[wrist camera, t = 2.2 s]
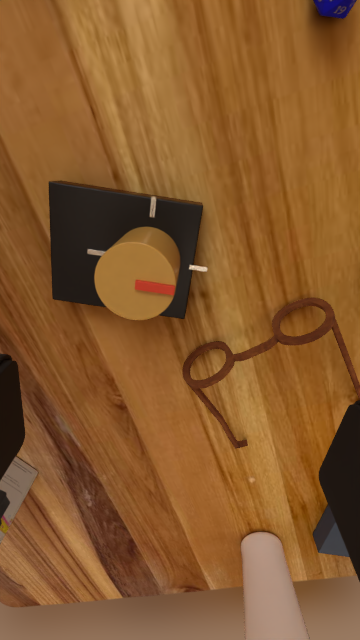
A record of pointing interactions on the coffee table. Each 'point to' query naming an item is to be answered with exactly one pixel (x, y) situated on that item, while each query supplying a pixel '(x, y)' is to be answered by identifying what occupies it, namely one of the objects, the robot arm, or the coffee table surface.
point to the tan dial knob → (139, 274)
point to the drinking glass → (269, 591)
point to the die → (334, 7)
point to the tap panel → (114, 236)
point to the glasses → (278, 337)
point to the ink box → (14, 491)
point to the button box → (329, 536)
